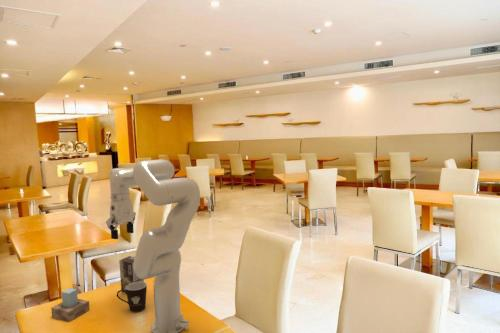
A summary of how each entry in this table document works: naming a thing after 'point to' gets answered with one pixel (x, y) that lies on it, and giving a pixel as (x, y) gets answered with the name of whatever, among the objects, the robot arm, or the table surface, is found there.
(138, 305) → the coffee mug
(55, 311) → the socket block
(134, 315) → the table surface
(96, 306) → the table surface
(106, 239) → the table surface
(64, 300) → the peg
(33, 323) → the table surface
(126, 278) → the coffee box
